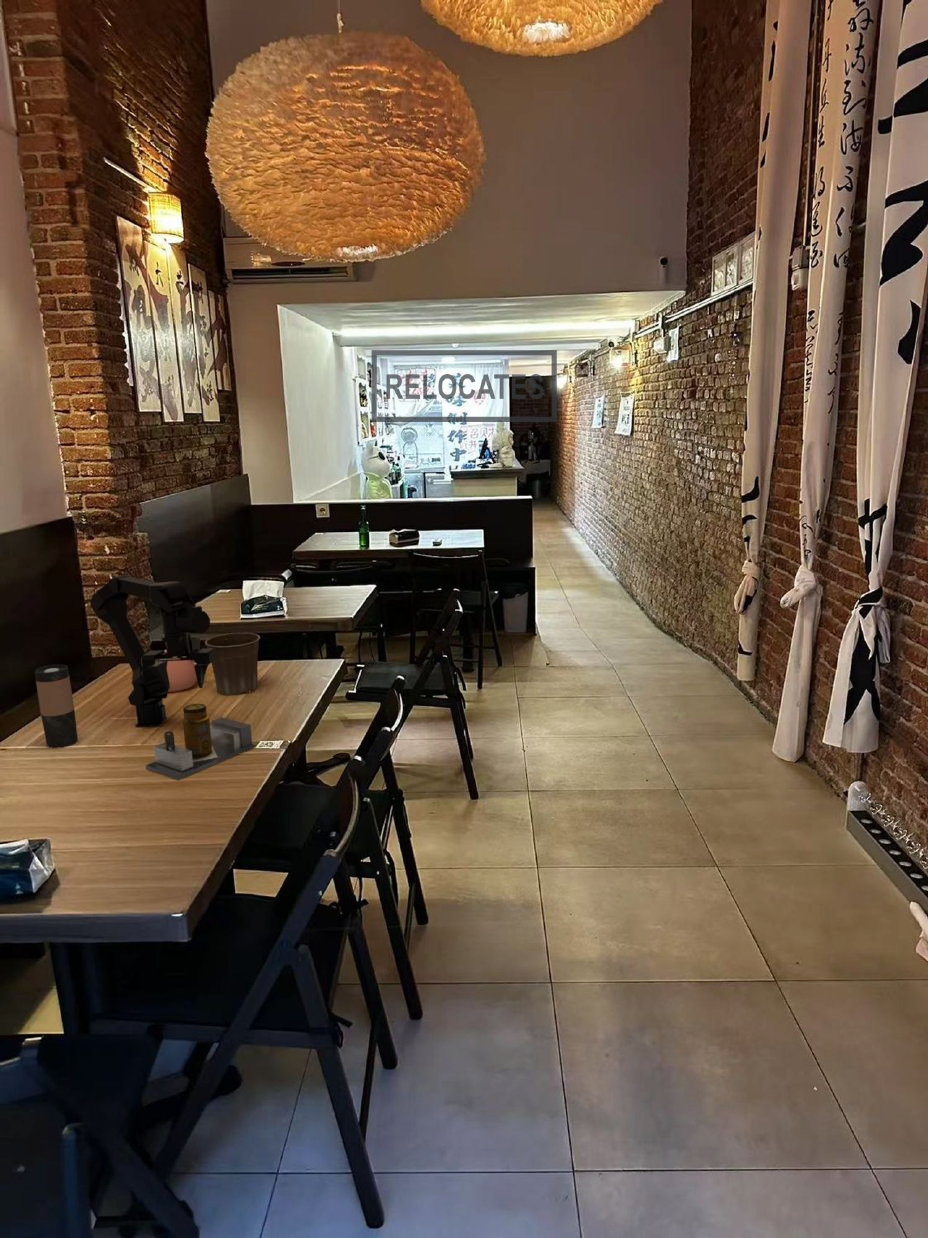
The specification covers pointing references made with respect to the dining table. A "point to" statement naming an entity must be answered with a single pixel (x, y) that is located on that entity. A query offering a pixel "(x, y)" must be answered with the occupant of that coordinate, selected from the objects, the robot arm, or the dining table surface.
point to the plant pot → (235, 662)
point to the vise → (225, 742)
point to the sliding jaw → (173, 754)
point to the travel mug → (56, 705)
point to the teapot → (180, 674)
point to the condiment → (198, 732)
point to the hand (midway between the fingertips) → (184, 688)
